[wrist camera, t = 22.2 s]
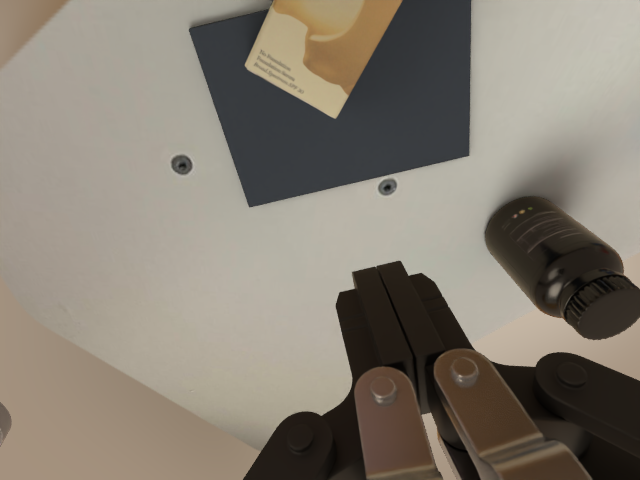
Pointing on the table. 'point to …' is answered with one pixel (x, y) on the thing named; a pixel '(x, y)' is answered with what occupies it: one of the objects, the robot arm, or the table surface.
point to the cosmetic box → (319, 47)
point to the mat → (345, 105)
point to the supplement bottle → (563, 267)
